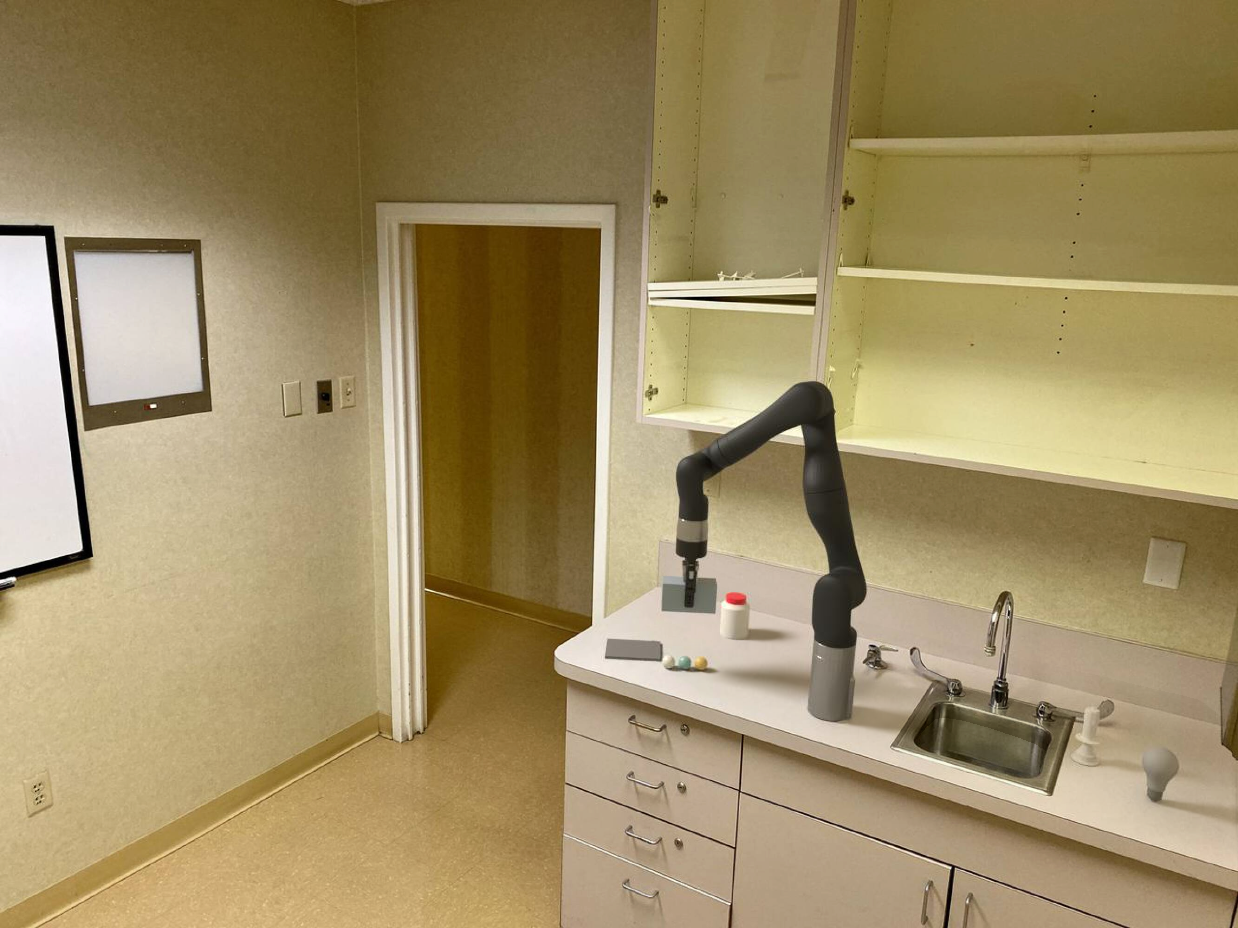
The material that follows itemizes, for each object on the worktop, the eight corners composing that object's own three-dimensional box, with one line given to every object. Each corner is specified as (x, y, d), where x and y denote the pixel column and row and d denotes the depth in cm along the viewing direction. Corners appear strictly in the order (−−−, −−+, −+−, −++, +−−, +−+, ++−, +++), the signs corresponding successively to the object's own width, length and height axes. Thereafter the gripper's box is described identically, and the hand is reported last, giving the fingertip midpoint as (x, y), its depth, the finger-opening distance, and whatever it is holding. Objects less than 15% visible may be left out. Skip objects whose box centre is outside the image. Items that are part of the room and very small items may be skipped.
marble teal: (690, 666, 225) (691, 654, 224) (691, 671, 222) (691, 659, 221) (677, 665, 225) (678, 653, 224) (678, 670, 222) (678, 658, 221)
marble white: (674, 665, 225) (675, 653, 224) (674, 670, 222) (675, 658, 221) (661, 664, 225) (662, 652, 224) (661, 670, 222) (662, 657, 221)
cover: (714, 605, 222) (715, 578, 221) (715, 613, 217) (717, 586, 215) (661, 602, 223) (662, 575, 221) (661, 611, 217) (662, 583, 216)
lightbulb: (1162, 813, 169) (1172, 760, 167) (1129, 797, 174) (1138, 745, 172) (1177, 803, 173) (1187, 751, 171) (1144, 787, 178) (1153, 737, 175)
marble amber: (706, 666, 225) (707, 654, 224) (707, 672, 221) (708, 660, 221) (694, 666, 225) (694, 654, 224) (694, 671, 222) (695, 659, 221)
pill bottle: (747, 629, 249) (750, 591, 247) (748, 640, 241) (751, 601, 239) (719, 627, 250) (721, 589, 247) (719, 638, 242) (722, 599, 240)
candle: (1072, 749, 191) (1081, 697, 189) (1100, 758, 188) (1109, 705, 186) (1068, 760, 187) (1076, 707, 184) (1097, 769, 184) (1106, 715, 181)
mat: (660, 643, 238) (660, 641, 237) (660, 661, 227) (660, 658, 227) (607, 640, 238) (607, 638, 238) (604, 658, 227) (604, 655, 227)
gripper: (709, 545, 209) (705, 614, 212) (706, 528, 223) (702, 592, 226) (676, 544, 209) (673, 612, 213) (675, 526, 223) (672, 591, 227)
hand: (688, 602), depth 219 cm, fingers closed on cover, 5 cm apart
